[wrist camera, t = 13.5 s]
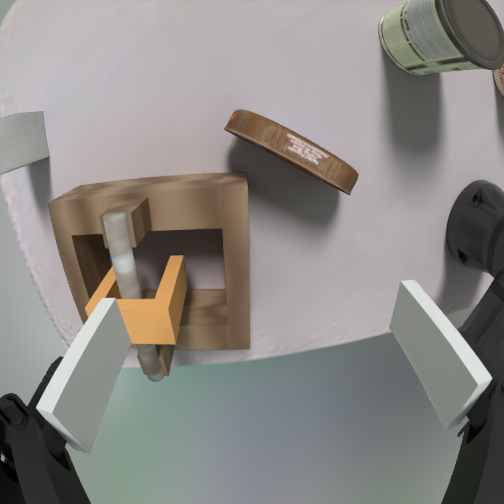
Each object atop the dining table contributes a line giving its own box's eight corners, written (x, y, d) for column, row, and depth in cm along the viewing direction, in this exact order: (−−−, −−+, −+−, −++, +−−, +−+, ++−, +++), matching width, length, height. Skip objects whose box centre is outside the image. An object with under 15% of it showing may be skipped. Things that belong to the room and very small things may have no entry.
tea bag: (43, 111, 27) (-5, 115, 18) (49, 156, 30) (3, 171, 21) (25, 120, 27) (-21, 127, 18) (32, 163, 30) (-13, 180, 21)
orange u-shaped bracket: (183, 255, 31) (168, 309, 22) (187, 285, 33) (175, 344, 24) (118, 257, 31) (84, 308, 22) (124, 287, 33) (97, 341, 24)
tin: (224, 130, 31) (219, 133, 23) (236, 107, 30) (236, 101, 22) (333, 187, 34) (359, 207, 27) (345, 166, 33) (374, 180, 26)
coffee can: (407, 1, 22) (468, -27, 10) (448, 58, 26) (517, 52, 13) (362, 25, 25) (422, -10, 12) (409, 88, 29) (482, 85, 16)
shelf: (245, 172, 33) (250, 204, 21) (247, 311, 42) (252, 385, 29) (80, 185, 32) (15, 222, 20) (109, 310, 41) (76, 374, 28)
